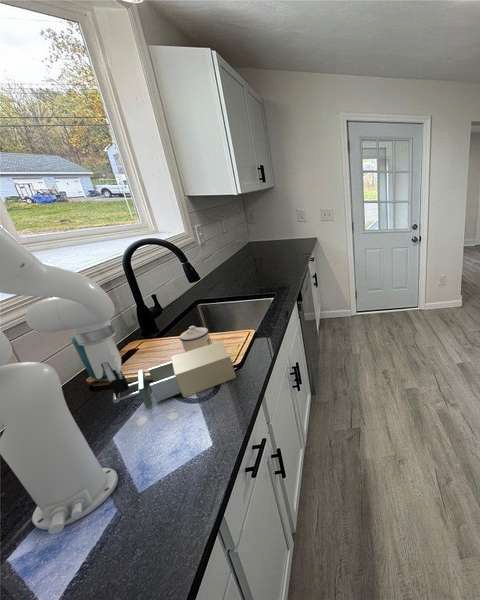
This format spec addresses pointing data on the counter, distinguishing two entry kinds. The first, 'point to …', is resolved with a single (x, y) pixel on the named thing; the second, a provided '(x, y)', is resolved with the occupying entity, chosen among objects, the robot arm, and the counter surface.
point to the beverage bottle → (84, 358)
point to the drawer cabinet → (202, 368)
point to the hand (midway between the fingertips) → (122, 390)
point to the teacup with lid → (195, 338)
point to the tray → (154, 384)
